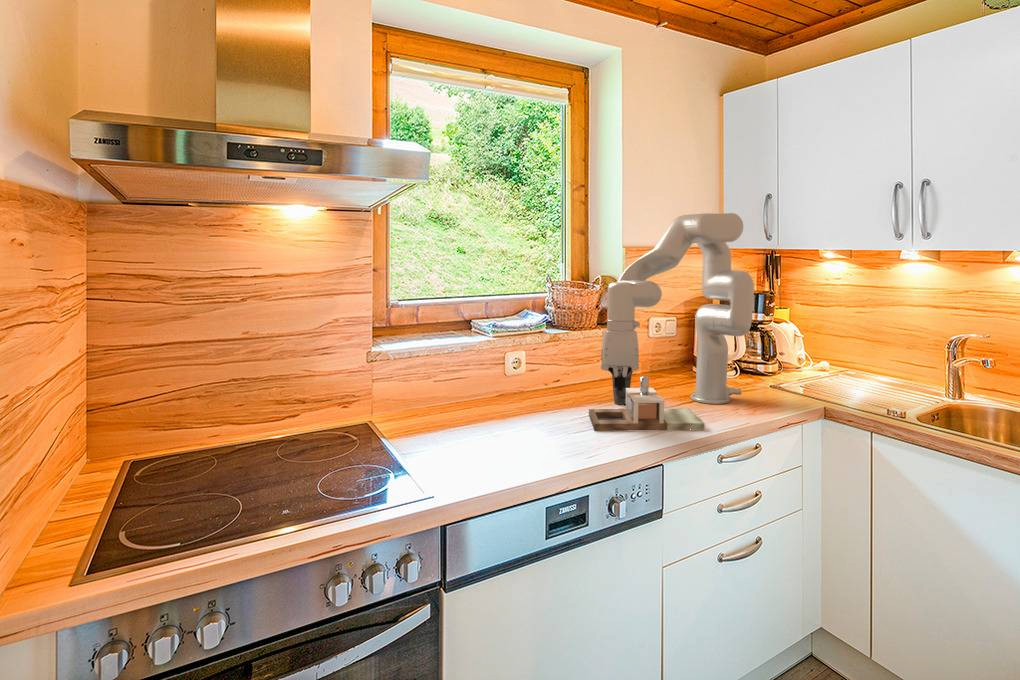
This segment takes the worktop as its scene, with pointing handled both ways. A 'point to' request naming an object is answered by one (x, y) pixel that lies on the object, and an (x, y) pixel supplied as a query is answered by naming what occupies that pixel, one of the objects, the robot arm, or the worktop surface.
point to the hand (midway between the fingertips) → (619, 389)
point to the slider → (643, 391)
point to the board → (643, 420)
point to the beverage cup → (621, 395)
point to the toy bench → (645, 401)
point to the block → (647, 410)
